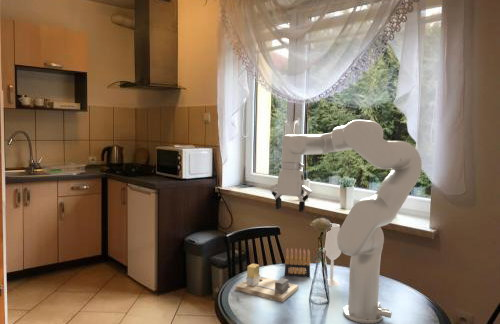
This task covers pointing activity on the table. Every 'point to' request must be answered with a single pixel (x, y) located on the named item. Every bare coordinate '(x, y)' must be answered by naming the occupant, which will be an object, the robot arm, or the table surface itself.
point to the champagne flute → (332, 250)
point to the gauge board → (269, 288)
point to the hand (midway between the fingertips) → (289, 210)
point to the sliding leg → (253, 274)
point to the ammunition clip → (297, 264)
